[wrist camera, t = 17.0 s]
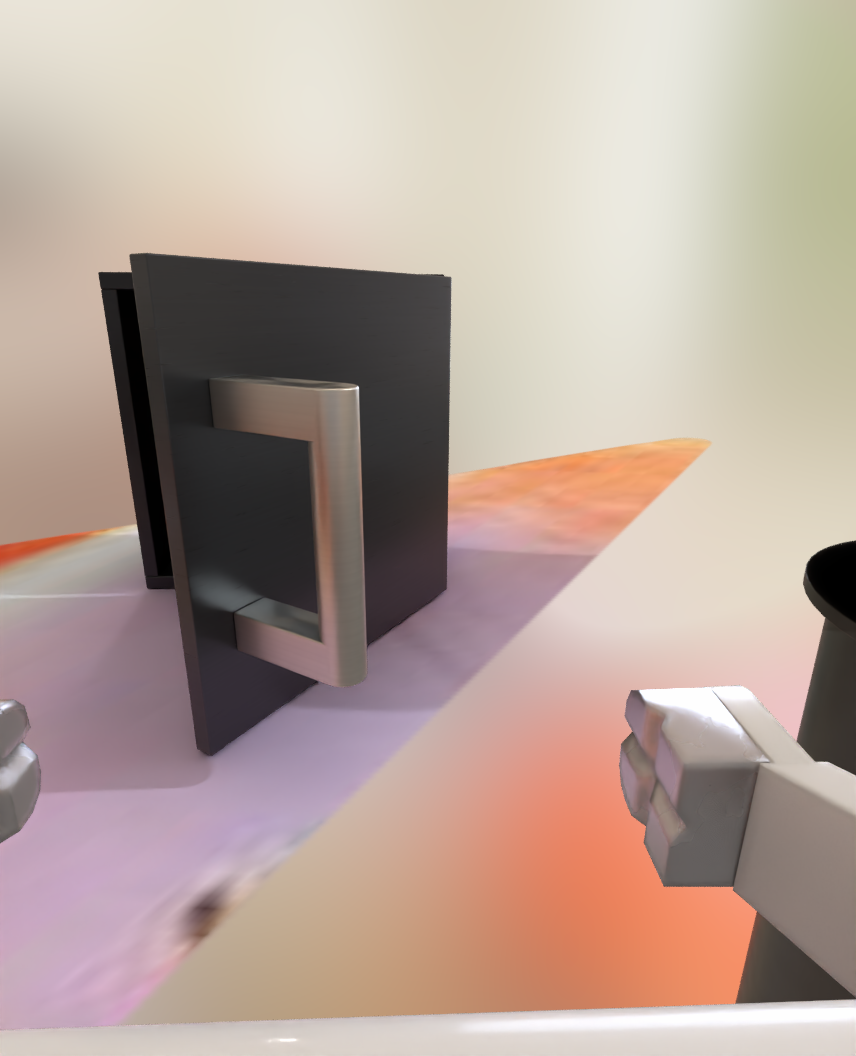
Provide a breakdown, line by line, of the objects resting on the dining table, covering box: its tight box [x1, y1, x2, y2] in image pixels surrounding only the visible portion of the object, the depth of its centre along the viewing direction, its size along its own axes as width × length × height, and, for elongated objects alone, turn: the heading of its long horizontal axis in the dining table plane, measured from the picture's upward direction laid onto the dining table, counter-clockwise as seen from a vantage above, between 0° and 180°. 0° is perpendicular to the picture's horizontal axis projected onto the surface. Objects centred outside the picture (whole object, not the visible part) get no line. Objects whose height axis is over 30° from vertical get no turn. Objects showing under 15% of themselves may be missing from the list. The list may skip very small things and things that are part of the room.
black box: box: [99, 272, 444, 588], centre depth 40 cm, size 10×18×18 cm, turn 92°
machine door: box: [130, 253, 451, 756], centre depth 27 cm, size 6×18×17 cm, turn 148°
